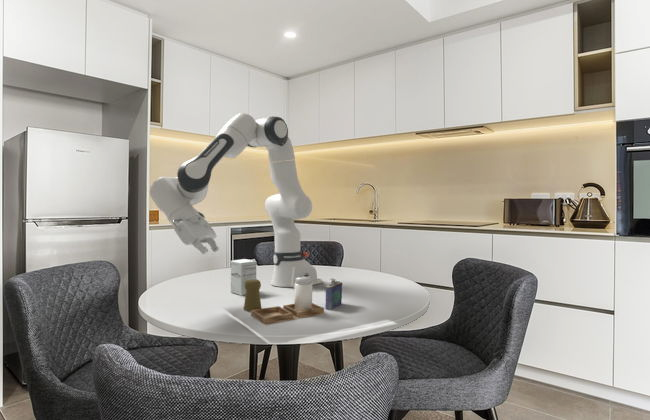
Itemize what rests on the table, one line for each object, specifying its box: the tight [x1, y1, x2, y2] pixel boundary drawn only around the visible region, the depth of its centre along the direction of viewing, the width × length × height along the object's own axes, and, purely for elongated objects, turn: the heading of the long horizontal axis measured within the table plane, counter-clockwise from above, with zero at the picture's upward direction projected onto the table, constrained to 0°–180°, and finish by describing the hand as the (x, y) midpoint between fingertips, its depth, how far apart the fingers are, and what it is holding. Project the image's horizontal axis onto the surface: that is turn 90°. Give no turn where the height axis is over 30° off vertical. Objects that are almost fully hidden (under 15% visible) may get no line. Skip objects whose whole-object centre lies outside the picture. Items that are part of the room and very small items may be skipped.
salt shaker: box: [294, 276, 313, 312], centre depth 126 cm, size 6×6×11 cm
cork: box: [243, 278, 263, 313], centre depth 129 cm, size 6×6×11 cm
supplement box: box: [230, 258, 257, 296], centre depth 157 cm, size 7×7×13 cm
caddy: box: [250, 302, 326, 325], centre depth 124 cm, size 20×11×3 cm, turn 123°
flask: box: [324, 277, 343, 311], centre depth 133 cm, size 9×3×11 cm, turn 151°
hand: (211, 251), depth 131 cm, fingers open, 8 cm apart
